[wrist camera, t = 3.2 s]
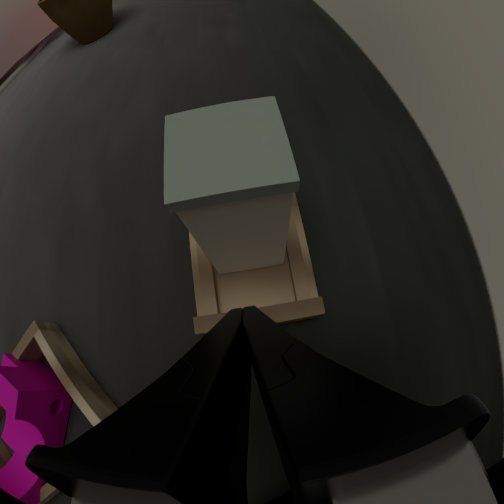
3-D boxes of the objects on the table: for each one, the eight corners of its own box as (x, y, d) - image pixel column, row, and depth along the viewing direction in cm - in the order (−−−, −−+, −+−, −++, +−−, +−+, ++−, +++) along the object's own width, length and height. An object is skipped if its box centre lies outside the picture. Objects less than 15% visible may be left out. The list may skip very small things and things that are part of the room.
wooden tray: (319, 316, 22) (325, 313, 19) (203, 335, 22) (195, 334, 19) (272, 118, 28) (272, 100, 25) (186, 133, 28) (180, 116, 26)
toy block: (34, 355, 22) (-20, 350, 15) (75, 386, 21) (18, 391, 13) (20, 461, 17) (-23, 471, 10) (57, 493, 16) (15, 513, 9)
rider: (285, 265, 22) (299, 180, 10) (218, 276, 22) (164, 204, 10) (274, 208, 23) (274, 96, 12) (211, 218, 23) (165, 116, 12)
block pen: (134, 426, 20) (114, 436, 16) (44, 504, 16) (27, 513, 12) (57, 324, 23) (34, 320, 19) (-11, 425, 19) (-29, 427, 15)
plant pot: (111, 15, 44) (92, -34, 28) (139, 20, 40) (118, -40, 25) (58, 50, 41) (31, 2, 26) (76, 61, 37) (43, 2, 22)
